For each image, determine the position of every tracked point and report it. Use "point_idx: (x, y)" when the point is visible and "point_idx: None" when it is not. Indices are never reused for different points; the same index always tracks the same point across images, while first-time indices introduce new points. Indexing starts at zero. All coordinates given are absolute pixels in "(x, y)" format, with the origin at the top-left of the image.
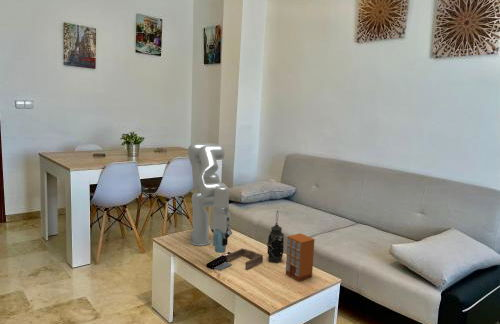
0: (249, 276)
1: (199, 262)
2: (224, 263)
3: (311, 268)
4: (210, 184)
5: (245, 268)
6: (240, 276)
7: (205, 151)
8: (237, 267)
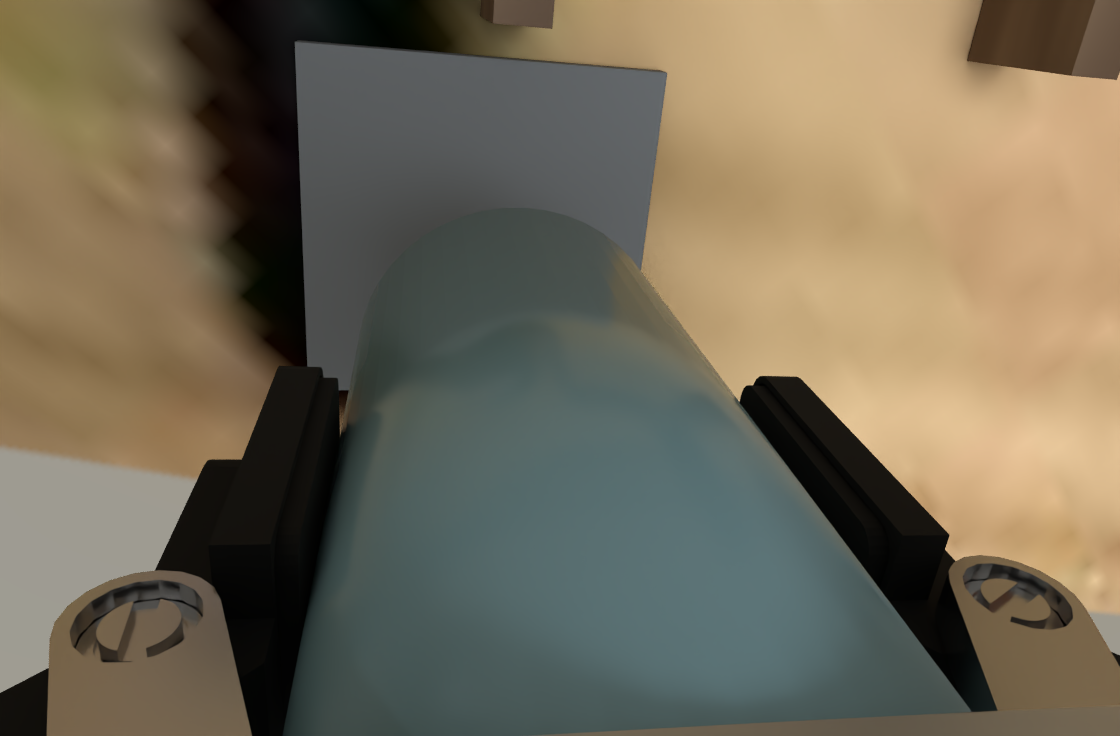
0: (1112, 240)
1: (92, 384)
2: (531, 151)
3: None
4: None
5: (981, 62)
6: (988, 329)
7: None
8: (802, 83)
